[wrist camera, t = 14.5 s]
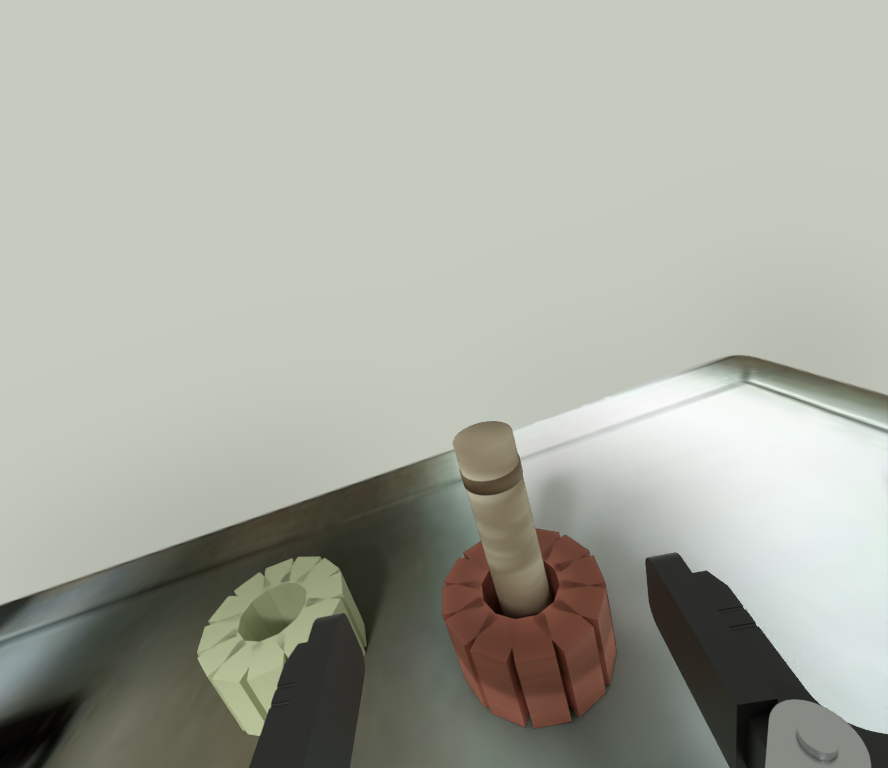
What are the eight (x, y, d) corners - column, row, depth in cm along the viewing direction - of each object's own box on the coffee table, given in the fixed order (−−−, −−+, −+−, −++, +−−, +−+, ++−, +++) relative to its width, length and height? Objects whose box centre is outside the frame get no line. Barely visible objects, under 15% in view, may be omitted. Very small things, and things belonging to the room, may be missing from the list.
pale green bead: (220, 765, 26) (180, 709, 24) (245, 635, 34) (216, 587, 32) (372, 695, 27) (345, 638, 25) (360, 588, 36) (338, 539, 34)
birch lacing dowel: (516, 675, 26) (452, 459, 21) (509, 628, 29) (451, 429, 24) (569, 665, 26) (518, 444, 20) (556, 619, 29) (508, 415, 23)
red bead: (467, 740, 24) (442, 677, 22) (460, 598, 32) (442, 545, 30) (641, 709, 23) (631, 641, 21) (586, 572, 31) (576, 516, 30)
